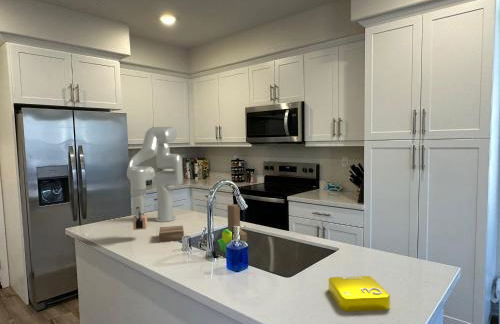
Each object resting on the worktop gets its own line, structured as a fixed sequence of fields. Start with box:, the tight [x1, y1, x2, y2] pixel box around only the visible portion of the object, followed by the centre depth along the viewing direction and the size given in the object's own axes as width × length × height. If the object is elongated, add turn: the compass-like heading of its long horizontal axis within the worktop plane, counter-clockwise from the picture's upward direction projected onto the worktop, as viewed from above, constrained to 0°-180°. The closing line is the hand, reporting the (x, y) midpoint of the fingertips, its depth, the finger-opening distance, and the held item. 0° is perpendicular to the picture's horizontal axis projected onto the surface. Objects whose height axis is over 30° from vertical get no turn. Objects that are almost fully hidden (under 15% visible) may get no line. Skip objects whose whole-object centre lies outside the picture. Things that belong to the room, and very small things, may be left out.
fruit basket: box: [217, 228, 246, 254], centre depth 143 cm, size 11×9×11 cm
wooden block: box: [227, 203, 248, 243], centre depth 159 cm, size 9×4×18 cm, turn 50°
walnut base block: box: [158, 225, 185, 243], centre depth 166 cm, size 12×12×5 cm
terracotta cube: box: [132, 214, 148, 231], centre depth 166 cm, size 6×6×6 cm
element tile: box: [328, 275, 391, 312], centre depth 100 cm, size 15×15×5 cm
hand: (140, 226), depth 166 cm, fingers closed on terracotta cube, 6 cm apart
